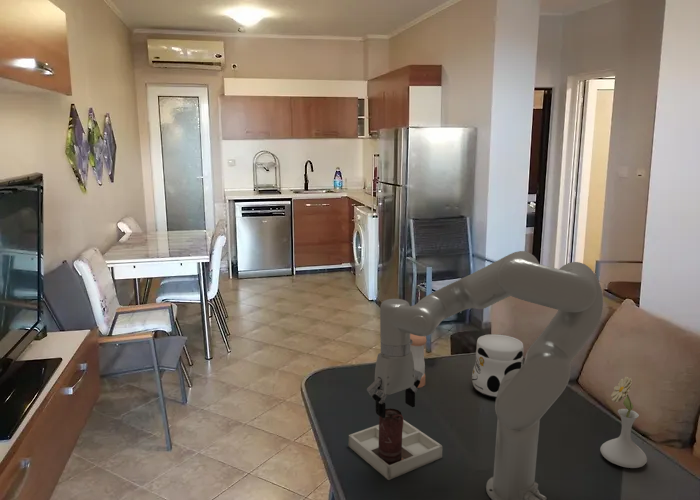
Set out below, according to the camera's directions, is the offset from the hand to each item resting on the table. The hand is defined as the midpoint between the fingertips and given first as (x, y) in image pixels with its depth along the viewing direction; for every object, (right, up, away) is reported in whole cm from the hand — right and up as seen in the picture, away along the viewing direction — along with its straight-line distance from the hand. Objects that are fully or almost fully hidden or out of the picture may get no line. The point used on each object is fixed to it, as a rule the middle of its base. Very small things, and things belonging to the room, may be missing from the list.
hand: (395, 410), depth 139 cm
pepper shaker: (+11, -6, +52) cm, 53 cm away
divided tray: (0, -14, +9) cm, 17 cm away
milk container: (+39, -7, +46) cm, 61 cm away
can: (-1, -15, +4) cm, 15 cm away
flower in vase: (+62, -16, +6) cm, 64 cm away
